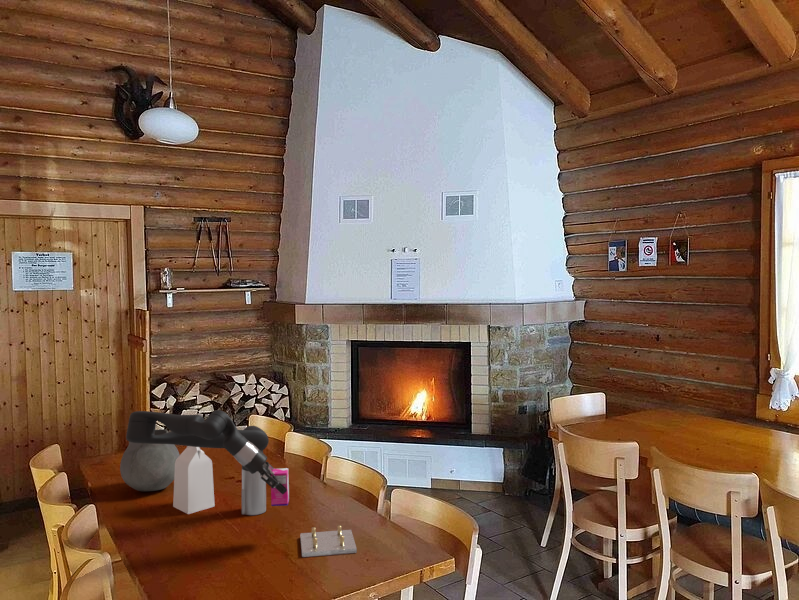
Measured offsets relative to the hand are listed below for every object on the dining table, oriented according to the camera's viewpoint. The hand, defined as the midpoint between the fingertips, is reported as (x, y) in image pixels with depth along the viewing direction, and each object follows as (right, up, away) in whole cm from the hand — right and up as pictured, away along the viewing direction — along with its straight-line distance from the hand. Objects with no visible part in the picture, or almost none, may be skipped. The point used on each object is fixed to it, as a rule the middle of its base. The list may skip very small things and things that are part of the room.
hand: (285, 488), depth 217 cm
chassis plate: (+15, -18, -4) cm, 24 cm away
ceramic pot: (-68, -17, +54) cm, 88 cm away
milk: (-43, -17, +33) cm, 57 cm away
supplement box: (-2, -5, 0) cm, 5 cm away
